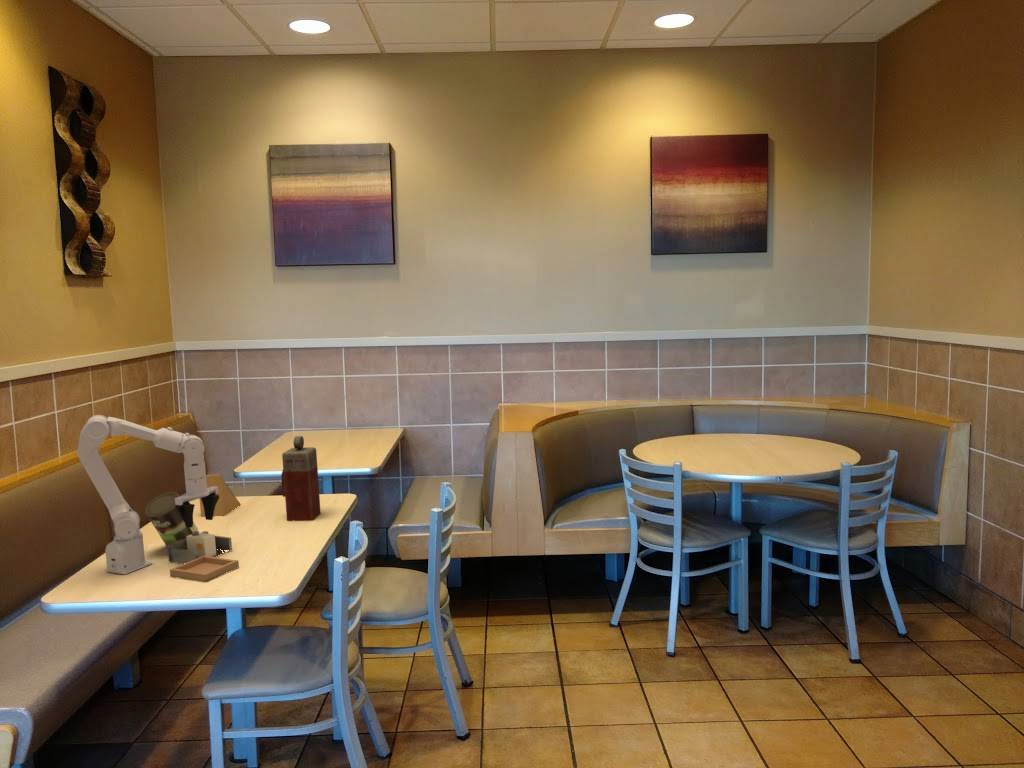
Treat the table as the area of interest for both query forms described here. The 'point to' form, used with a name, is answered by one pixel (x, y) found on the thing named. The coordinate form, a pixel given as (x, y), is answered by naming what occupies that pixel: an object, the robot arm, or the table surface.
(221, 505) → the sandwich container
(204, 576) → the tray
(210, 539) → the block with grey knob
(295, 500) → the red pepper mill
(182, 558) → the bay
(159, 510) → the coffee can
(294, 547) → the table surface
